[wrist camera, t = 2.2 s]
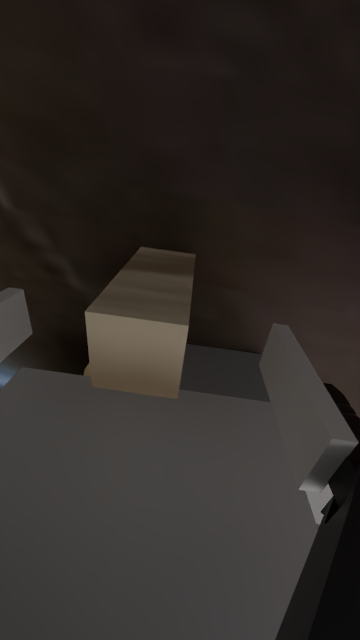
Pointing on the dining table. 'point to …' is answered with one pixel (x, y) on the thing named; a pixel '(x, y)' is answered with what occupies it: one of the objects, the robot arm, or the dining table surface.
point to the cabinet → (148, 507)
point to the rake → (142, 324)
